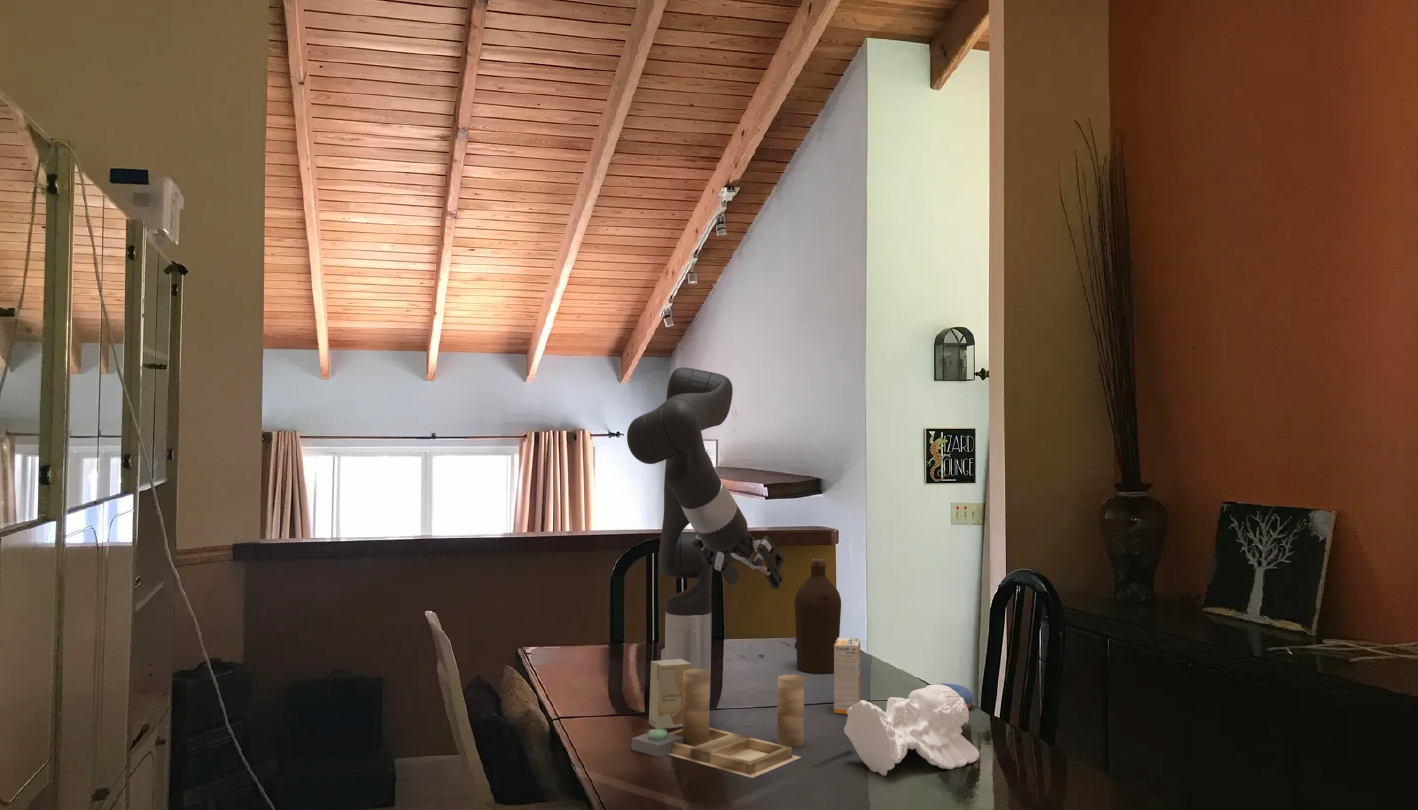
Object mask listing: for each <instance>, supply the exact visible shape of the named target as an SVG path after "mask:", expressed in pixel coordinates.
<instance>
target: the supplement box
mask: <svg viewBox="0 0 1418 810" xmlns="http://www.w3.org/2000/svg"><path fill="white" fill-rule="evenodd" d="M860 697H861V638H858V637H839V638H837V640H836V642H835V645H834V672H833V713H834V714H840V715H841V714H842V715H848V714H847V710H848V709H849V708H850V707H852V705H854V704H856V703H859V701H860V699H861V698H860Z"/></svg>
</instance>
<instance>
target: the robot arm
mask: <svg viewBox="0 0 1418 810" xmlns="http://www.w3.org/2000/svg"><path fill="white" fill-rule="evenodd" d="M733 392H734V391H733V383H732V381H731V379H730V378H729V377H727V376H725V375H724V374H721V373H717V372H713V371H707V370H703V369H698V368H697V369H696V368H691V367H682V366H681V367H677V368H676V369H675V370H673V371H672V373H671V375H670V377H669V380H668V384H667V388H666V398H665V401H664V402H663V403H662V404H660V405H659V406H658V407H657V408H655V409H652V410H651V411H648V412H646V413H643V414H642V415H640V416H638V417H635V418H634V419H633V420H632V422H631V421H630V424H629V426H628V428H627V433H626V440H627V441H626V442H627V446H628V449H629V451H630V453H631V454H632V456H633V457H634V458H635V459H636V460H638V461H639V462H641V463H643V464H645V465H646V464H647V465H654V464H658V463H661V462H663V461H665V466H664V478H663V479H664V483H663V484H664V485H663V517H662V518H663V520H662V527H661V535H660V543H659V550H658V564H659V569H660V571H661V574H662V575H663V576H665V577H667V578H672V579H673V578H674V579H696V580H695V582H694V583H693V585H691V586H690V587H688V588H687V589H685V590H683V591H681V592H678V593H674V594H672V595H670V596H668V597H667V598H666V600H665V617H664V618H665V619H664V620H665V621H664V622H665V628H664V633H665V634H664V635H665V636H664V641H665V642H664V648H662V649H661V652H660V660H673V659H683V660H685V661H687V662H689V663H691V669H703V670H708V671H710V680H711V679H712V678H711V676H712V675H711V670H712V669H711V668H712V666H711V665H712V661H711V660H712V659H711V658H712V657H711V656H712V584H713V580H712V579H713V568H714V569H715V570H716V571H718V572H719V573H720V574H721V575H722V577H723V578H724V580H725V581H726V582H727V583H728V585H732V586H734V585H735V584H736V582H737V580H738V579H739V573H738V572H737V570H736V568H735V567H734V564H732V563H735V562H737V563H741V564H745V565H746V566H748V567H749V568H750V569H752V570H755V569H757V570H758V571H759V572H761V573H762V574H764V577H765V579H766V580H767V581H768V584H769V585H770V587H771V588H772V590H775V591H776V590H777V591H778V590H779V588H780V586H781V584H782V583H783V581H784V577H783V575H782V574H781V572H780V570H781V568H782V566H783V565H784V562H785V557H783V555H782V553H781V552H780V551H779V549H778V547H777V546H776V545H775V543H774V541H773V539H771V537H770V536H768V535H763V537H762V539H756V538H755V537H753V536H752V535H751V534H750V532H749V528H748V522H747V519H746V517H745V516H744V514H743V512H742V510H741V508H740V507H739V505H738V503H737V502H736V501H735V499H734V497H733V496H732V494H731V491H729V489H728V487H727V486H726V485H725V484H724V483H723V482H722V480H721V479H720V477H719V475H718V473H717V472H716V470H715V467H714V464H713V461H712V459H711V457H710V456H709V454H708V452H707V451H706V447H705V444H704V440H703V439H704V438H703V433H702V431H704V430H706V429H710V428H713V427H718V426H721V425H722V424H723V423H724V422H725V420H727V417H728V415H729V413H730V409H731V405H732V401H733ZM688 525H690V526H691V527H692V529H693V530H694V531H684V529H686V527H687V526H688ZM754 551H755V552H756V556H755V558H754V560H752V559H751V558H752V556H753V555H754V553H755V552H754ZM762 560H763V561H764V562H765V563H766V564H765V565H764V564H762V562H761V561H762Z"/></svg>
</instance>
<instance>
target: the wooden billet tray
mask: <svg viewBox="0 0 1418 810" xmlns="http://www.w3.org/2000/svg"><path fill="white" fill-rule="evenodd" d="M668 733H669V734H673V735H677V736H681V737H683V728H680V729H677V730H674V731H670V732H668ZM667 755H668V756H671V757H675V758H678V759H682V760H685V761H690V762H694V763H697V764H701V765H704V766H708V767H711V768H715V769H718V770H722V771H726V772H730V773H733V774H737V775H741V776H744V777H747V778H751V779H754V778H756V777H759V776H760V775H763V774H766V773H768V772H770V771H773V770H775V769H777V768H779V767H782V766H784V765H786V764H789V763H791V762H793V761H796V760H798V759H800V758H802V756H799V755H794V754H793V747H788V746H783V745H779V744H777V743H775V742H772V741H767V740H762V739H759V738H754V737H752V736H751V737H750V736H748V735H747V736H745V735H741V734H738V733H734V732H730V731H726V730H721V729H717V728H713V727H710V726H709V742H707V743H704V744H701V745H698V746H696V747H693V746H689V745H686V744H682V743H678V742H674V743H672V748H671V753H669V754H667ZM667 755H666V756H667Z"/></svg>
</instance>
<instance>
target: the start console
mask: <svg viewBox="0 0 1418 810" xmlns="http://www.w3.org/2000/svg"><path fill="white" fill-rule="evenodd" d="M669 733H670V732H668V731H667V730H666V729H656V728H652V729H650V730H648V732H647V733H643V734H641V735H637V736H634V737H632V738H631V750H632V751H634V752H637V753H642V754H644V755H645V754H646V755H649V756H652V757H656V758H660V757H664V756H667V754H669V753H671V748H672V743H674V742H678V743H682V744H684V737H681V736H677V735H673V734H669Z"/></svg>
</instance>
